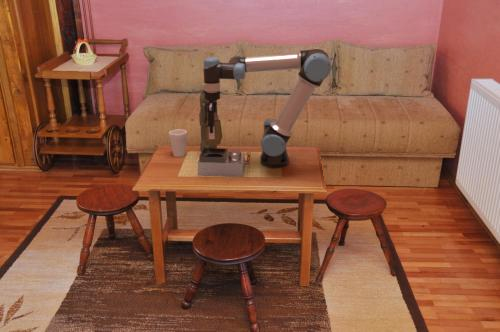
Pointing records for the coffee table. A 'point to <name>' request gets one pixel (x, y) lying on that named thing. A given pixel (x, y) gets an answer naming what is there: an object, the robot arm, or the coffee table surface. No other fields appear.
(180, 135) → the foam cup
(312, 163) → the coffee table surface
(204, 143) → the dark brown statue
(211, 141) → the squeeze bottle
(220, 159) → the grey box with recess
